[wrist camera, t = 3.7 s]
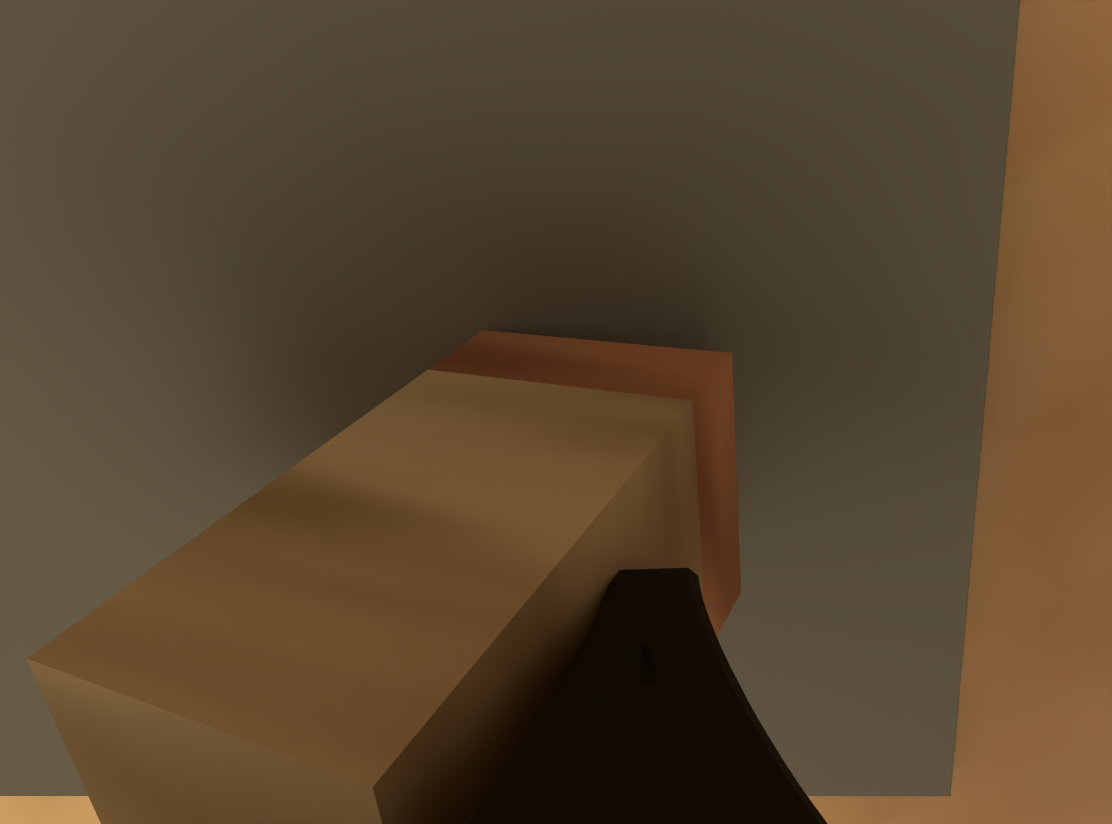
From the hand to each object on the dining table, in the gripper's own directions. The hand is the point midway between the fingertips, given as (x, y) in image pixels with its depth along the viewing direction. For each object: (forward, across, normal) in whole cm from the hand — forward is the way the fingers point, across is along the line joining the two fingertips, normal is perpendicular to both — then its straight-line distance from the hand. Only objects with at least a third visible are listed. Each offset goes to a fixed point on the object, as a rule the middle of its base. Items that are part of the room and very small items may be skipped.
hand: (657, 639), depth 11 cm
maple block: (+4, +1, 0) cm, 4 cm away
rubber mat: (+6, +5, 0) cm, 8 cm away
